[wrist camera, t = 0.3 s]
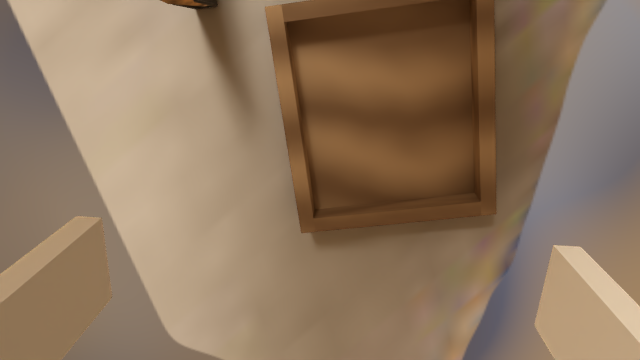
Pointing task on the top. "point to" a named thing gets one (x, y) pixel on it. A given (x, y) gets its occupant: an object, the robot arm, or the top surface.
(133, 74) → the top surface
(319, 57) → the tray
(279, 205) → the top surface
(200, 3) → the ammunition clip
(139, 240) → the top surface
